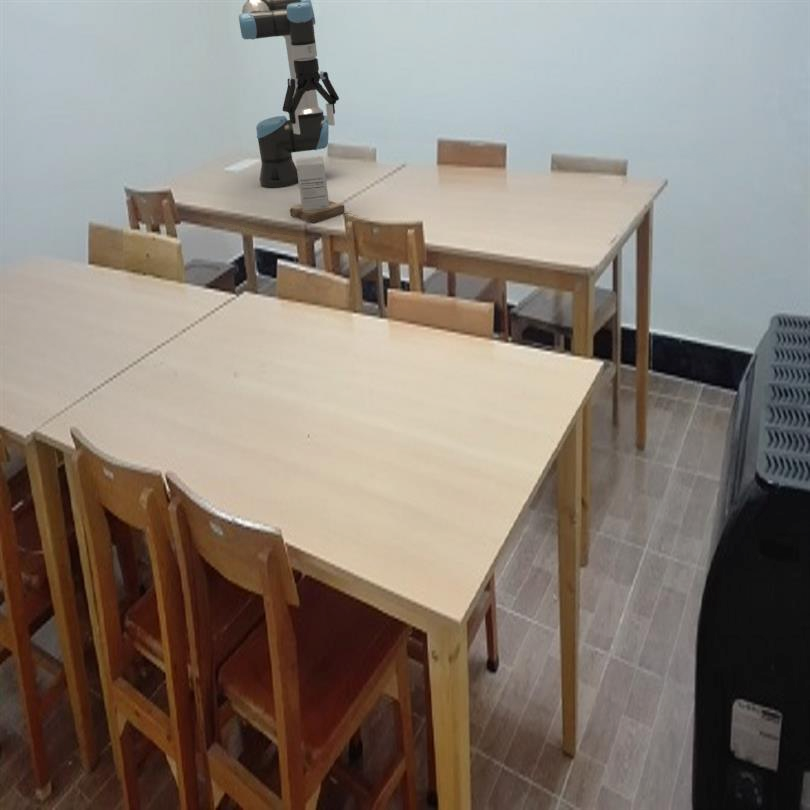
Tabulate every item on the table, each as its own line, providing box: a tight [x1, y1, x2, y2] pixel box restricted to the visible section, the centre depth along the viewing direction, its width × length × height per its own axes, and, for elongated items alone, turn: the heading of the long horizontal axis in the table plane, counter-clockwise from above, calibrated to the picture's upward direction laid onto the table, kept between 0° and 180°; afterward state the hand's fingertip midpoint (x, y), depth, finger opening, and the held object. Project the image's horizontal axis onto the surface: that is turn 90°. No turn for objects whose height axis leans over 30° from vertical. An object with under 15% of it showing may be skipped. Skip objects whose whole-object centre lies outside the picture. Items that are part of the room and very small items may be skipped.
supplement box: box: [295, 156, 330, 211], centre depth 267 cm, size 9×9×15 cm
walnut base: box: [289, 200, 346, 224], centre depth 272 cm, size 13×13×3 cm
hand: (314, 129), depth 262 cm, fingers open, 13 cm apart
